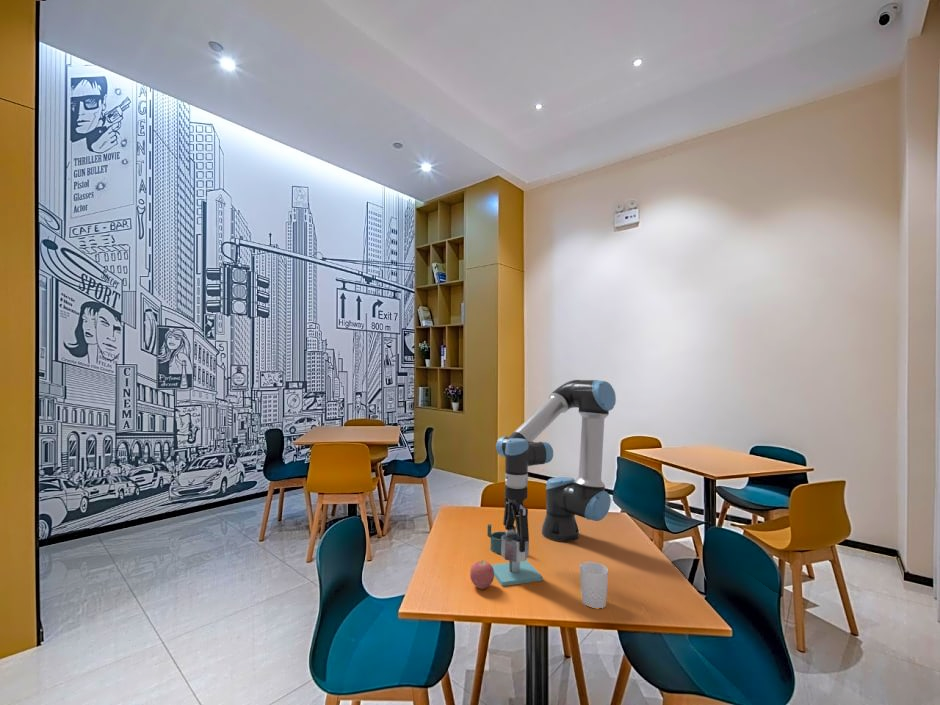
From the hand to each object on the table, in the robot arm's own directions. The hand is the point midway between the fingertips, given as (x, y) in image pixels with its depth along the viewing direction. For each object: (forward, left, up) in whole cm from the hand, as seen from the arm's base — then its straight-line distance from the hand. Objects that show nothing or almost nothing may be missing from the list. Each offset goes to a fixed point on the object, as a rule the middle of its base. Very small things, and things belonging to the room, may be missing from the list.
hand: (515, 555), depth 136 cm
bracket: (-3, -20, -7) cm, 21 cm away
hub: (0, 0, 0) cm, 0 cm away
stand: (0, 0, -6) cm, 6 cm away
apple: (+13, +5, -7) cm, 15 cm away
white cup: (-16, +22, -7) cm, 27 cm away
